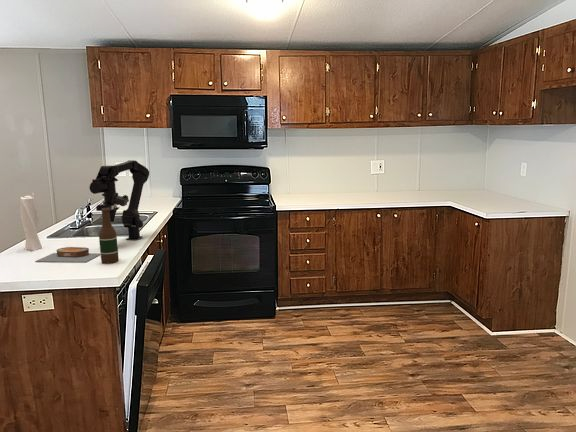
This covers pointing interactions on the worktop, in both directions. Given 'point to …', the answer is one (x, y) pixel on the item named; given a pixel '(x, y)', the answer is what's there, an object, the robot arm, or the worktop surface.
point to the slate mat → (69, 258)
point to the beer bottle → (108, 239)
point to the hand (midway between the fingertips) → (112, 222)
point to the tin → (72, 251)
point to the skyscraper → (30, 222)
